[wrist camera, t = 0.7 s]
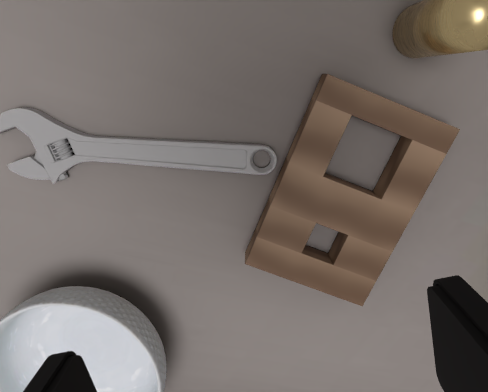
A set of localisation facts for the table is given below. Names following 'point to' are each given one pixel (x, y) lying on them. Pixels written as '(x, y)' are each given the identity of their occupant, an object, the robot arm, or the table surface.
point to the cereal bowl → (82, 340)
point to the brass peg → (442, 28)
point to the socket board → (345, 193)
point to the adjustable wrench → (119, 149)
